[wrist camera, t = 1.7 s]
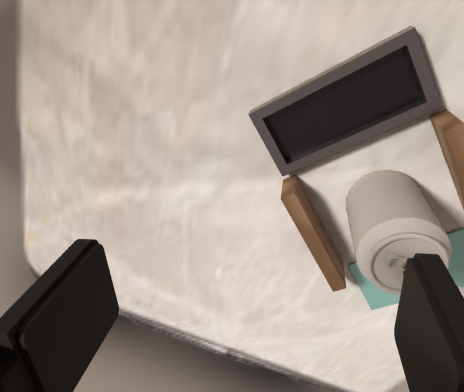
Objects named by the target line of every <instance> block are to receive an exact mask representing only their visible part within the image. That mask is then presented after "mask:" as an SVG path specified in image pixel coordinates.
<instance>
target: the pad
mask: <svg viewBox="0 0 464 392" xmlns="http://www.w3.org/2000/svg"><path fill="white" fill-rule="evenodd" d="M447 236H448V238H449V241H450V244H451V247H452V252H451V260H450V262H449V268H448V271H449V273H450V275H451V277H452V278H453V280H454V282H455V284H456V285H457V287H461V286H464V228H463V229H460V230H457V231H453V232H450V233H447ZM348 266H349V268H350V270H351V272H352V274H353V276H354V277H355V279H356V281H357V283H358V285H359V287H360V289H361V291H362V293H363V294H364V296H365V298H366V300H367V302H368V304H369V306H370V308H371V310H373V309H377V308H381V307H384V306H388V305H392V304H396V303H399V300H400V295H395V294H390V293H387V292H385V291H383V290H381V289H379V288H377V287H376V286H375V285H374V284H373V283H372V282H371V281H369V280H368V279H367V278H366V277H365V276H364V275H363V274H362V273H361V271H360V269H359V267H358V264H357V262H355V263H352V264H349V265H348Z"/></svg>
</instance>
